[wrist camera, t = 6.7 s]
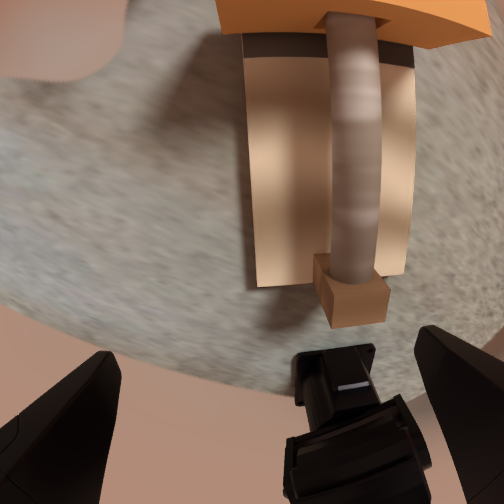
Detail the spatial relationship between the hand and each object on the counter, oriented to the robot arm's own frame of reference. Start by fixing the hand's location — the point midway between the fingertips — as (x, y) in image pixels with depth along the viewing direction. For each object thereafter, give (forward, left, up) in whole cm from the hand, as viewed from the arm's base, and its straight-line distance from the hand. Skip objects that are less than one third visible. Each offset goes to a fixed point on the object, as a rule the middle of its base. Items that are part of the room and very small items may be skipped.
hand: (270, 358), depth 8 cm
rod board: (+6, -5, -12) cm, 14 cm away
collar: (+12, -5, -10) cm, 17 cm away
